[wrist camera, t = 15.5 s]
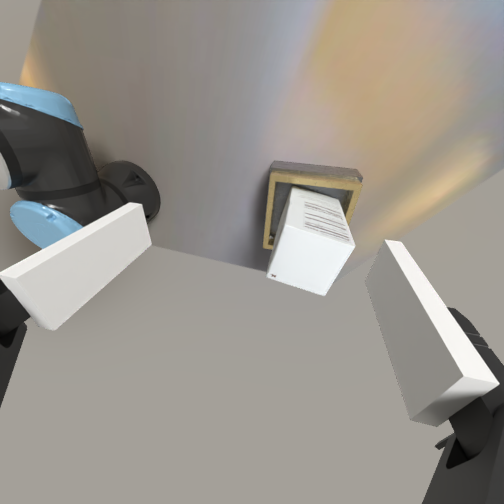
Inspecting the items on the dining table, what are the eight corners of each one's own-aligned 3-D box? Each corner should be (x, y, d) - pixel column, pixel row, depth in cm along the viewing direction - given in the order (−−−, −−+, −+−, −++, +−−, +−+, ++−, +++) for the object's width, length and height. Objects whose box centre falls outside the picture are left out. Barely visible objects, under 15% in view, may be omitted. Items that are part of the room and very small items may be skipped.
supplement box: (319, 240, 45) (324, 299, 31) (276, 227, 46) (263, 279, 32) (340, 198, 40) (358, 246, 26) (292, 183, 40) (284, 223, 26)
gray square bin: (266, 229, 53) (260, 249, 46) (274, 160, 44) (267, 171, 37) (334, 240, 51) (338, 262, 44) (356, 169, 42) (366, 182, 35)
